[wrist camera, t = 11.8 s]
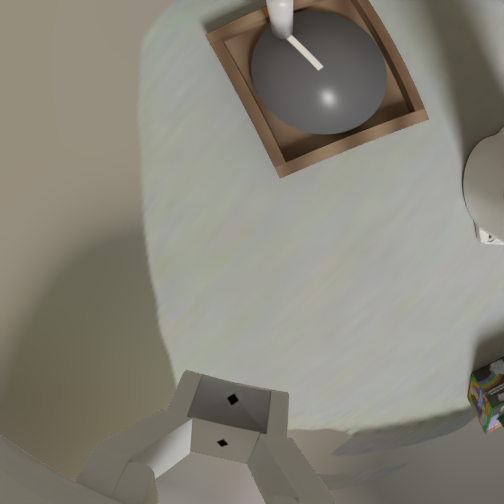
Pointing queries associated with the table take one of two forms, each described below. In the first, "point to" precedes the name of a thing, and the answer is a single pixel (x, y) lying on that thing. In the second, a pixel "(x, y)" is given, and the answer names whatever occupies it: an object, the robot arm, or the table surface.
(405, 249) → the table surface
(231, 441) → the robot arm
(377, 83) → the dial
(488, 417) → the chalk box
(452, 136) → the table surface
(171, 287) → the table surface
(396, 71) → the dial housing
